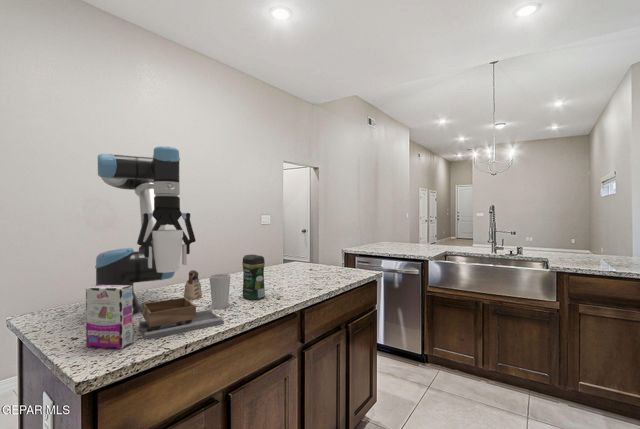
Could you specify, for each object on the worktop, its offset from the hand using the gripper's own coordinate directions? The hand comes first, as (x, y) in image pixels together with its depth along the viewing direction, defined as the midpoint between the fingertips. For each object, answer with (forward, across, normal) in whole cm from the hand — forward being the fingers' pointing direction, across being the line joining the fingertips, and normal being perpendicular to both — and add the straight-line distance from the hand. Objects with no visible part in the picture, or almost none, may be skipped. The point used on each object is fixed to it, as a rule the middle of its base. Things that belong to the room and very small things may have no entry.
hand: (167, 266), depth 105 cm
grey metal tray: (+20, +4, 0) cm, 20 cm away
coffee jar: (+20, +38, +18) cm, 46 cm away
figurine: (+20, +17, +34) cm, 43 cm away
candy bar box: (+20, -16, -5) cm, 26 cm away
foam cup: (+2, 0, 0) cm, 2 cm away
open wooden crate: (+18, 0, 0) cm, 18 cm away
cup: (+20, +22, +14) cm, 33 cm away
